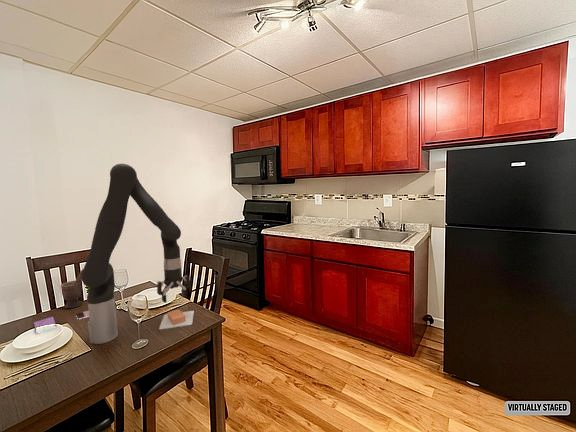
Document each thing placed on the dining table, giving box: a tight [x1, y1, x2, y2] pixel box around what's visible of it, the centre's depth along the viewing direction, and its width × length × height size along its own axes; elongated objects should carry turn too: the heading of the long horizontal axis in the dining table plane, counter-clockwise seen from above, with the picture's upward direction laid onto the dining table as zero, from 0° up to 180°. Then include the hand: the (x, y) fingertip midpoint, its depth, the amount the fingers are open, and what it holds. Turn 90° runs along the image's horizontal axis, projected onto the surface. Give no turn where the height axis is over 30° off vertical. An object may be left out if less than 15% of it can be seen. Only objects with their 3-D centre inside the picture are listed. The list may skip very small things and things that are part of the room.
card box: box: [167, 309, 186, 325], centre depth 128 cm, size 3×6×9 cm
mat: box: [158, 310, 195, 331], centre depth 129 cm, size 14×14×1 cm
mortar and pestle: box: [60, 268, 84, 309], centre depth 147 cm, size 12×9×20 cm
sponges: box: [33, 316, 56, 329], centre depth 126 cm, size 7×13×2 cm, turn 47°
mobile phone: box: [75, 310, 89, 320], centre depth 139 cm, size 8×1×15 cm
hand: (174, 299), depth 129 cm, fingers open, 8 cm apart
